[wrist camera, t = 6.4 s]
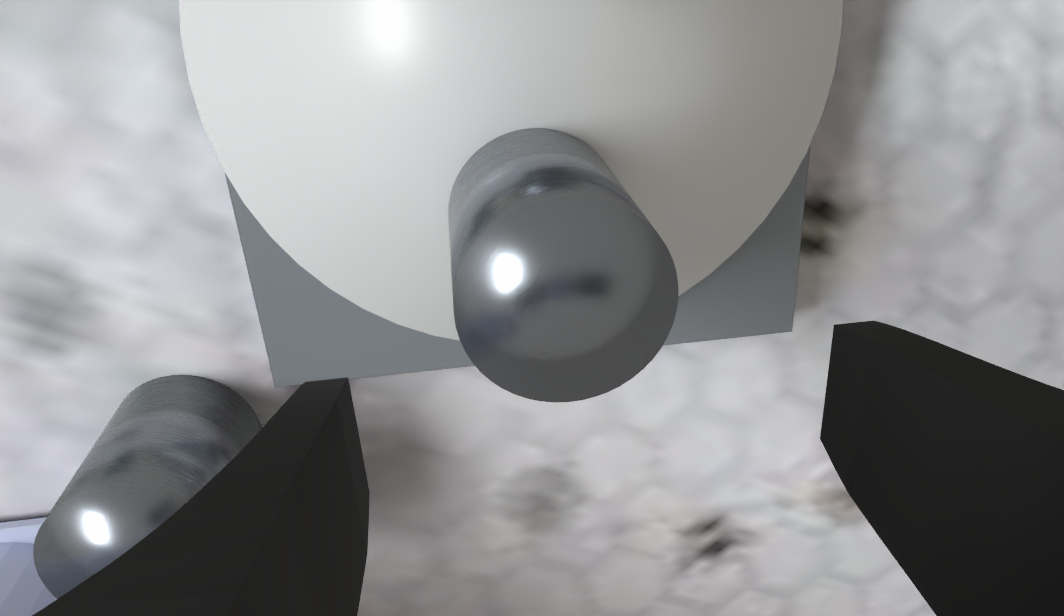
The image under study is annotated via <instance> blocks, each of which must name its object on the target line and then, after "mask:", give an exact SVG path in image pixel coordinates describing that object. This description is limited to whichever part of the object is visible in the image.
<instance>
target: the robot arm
mask: <svg viewBox="0 0 1064 616" xmlns="http://www.w3.org/2000/svg"><path fill="white" fill-rule="evenodd" d="M820 439H821V441H822V443H823V445H824V447H825V449H826V451H827V453H828V455H829V457H830V459H831V461H832V463H833V465H834V467H835V469H836V471H837V473H838V475H839V477H840V479H841V480H842V482H843V484H844V486H845V488H846V490H847V491H848V493H849V495H850V496H851V498H852V499H853V500H854V502H855V503H856V505H857V506H858V508H859V509H860V511H861V512H862V513H863V515H864V516H865V518H866V519H867V520H868V522H869V523H870V525H871V526H872V527H873V529H874V530H875V532H876V533H877V534H878V536H879V537H880V539H881V540H882V541H883V543H884V544H885V545H886V547H887V548H888V549H889V551H890V552H891V554H892V555H893V556H894V558H895V559H896V560H897V562H898V563H899V565H900V566H901V567H902V569H903V570H904V571H905V573H906V574H907V576H908V577H909V578H910V580H911V581H912V582H913V584H914V585H915V586H916V588H917V589H918V591H919V592H920V593H921V595H922V596H923V597H924V599H925V600H926V602H927V603H928V604H929V606H930V607H931V608H932V610H933V611H934V613H935V614H936V615H937V616H1064V390H1061V389H1058V388H1055V387H1052V386H1049V385H1047V384H1044V383H1041V382H1038V381H1036V380H1033V379H1030V378H1028V377H1025V376H1022V375H1020V374H1017V373H1014V372H1012V371H1009V370H1006V369H1004V368H1001V367H999V366H996V365H994V364H991V363H988V362H986V361H983V360H981V359H978V358H976V357H973V356H971V355H968V354H966V353H963V352H961V351H958V350H955V349H953V348H950V347H948V346H945V345H943V344H940V343H938V342H935V341H933V340H930V339H927V338H925V337H922V336H919V335H917V334H914V333H911V332H909V331H906V330H903V329H900V328H897V327H894V326H891V325H888V324H884V323H880V322H877V321H866V322H857V323H848V324H838V325H834V330H833V338H832V346H831V355H830V363H829V371H828V379H827V387H826V395H825V404H824V412H823V420H822V428H821V436H820ZM46 518H47V517H44V518H36V519H27V520H19V521H10V522H2V523H0V616H357V613H358V607H359V601H360V595H361V589H362V583H363V577H364V570H365V564H366V558H367V546H368V522H369V488H368V482H367V477H366V471H365V466H364V461H363V455H362V450H361V445H360V439H359V434H358V428H357V423H356V418H355V412H354V407H353V402H352V396H351V391H350V385H349V380H348V377H346V378H337V379H327V380H318V381H309V382H304V383H303V384H302V385H301V386H300V387H299V388H298V389H297V390H296V392H295V393H294V394H293V395H292V396H291V397H290V398H289V399H288V400H287V401H286V403H285V404H284V405H283V406H282V407H281V408H280V409H279V410H278V411H277V413H276V414H275V415H274V416H273V417H272V418H271V419H270V420H269V421H268V422H267V424H266V425H265V426H264V427H263V428H262V429H261V430H260V431H259V432H258V433H257V434H256V435H255V436H254V437H253V438H252V439H251V441H250V442H249V443H248V444H247V445H246V446H245V447H244V448H243V449H242V450H241V451H240V452H239V453H238V454H237V455H236V456H235V457H234V458H233V459H232V460H231V461H230V462H229V463H228V464H227V465H226V466H225V467H224V468H223V469H222V470H221V471H220V472H219V473H218V474H216V475H215V476H214V477H213V478H212V479H211V480H210V481H209V482H208V483H207V484H206V485H205V486H204V487H203V488H202V489H201V490H200V491H199V492H197V493H196V494H195V495H194V496H193V497H192V498H191V499H190V500H189V501H188V502H187V503H186V504H185V505H183V506H182V507H181V508H180V509H179V510H178V511H177V512H175V513H174V514H173V515H172V516H171V517H169V518H168V519H167V520H166V521H165V522H163V523H162V524H161V525H160V526H159V527H157V528H156V529H155V530H154V531H152V532H151V533H150V534H148V535H147V536H146V537H145V538H143V539H142V540H141V541H139V542H138V543H137V544H136V545H134V546H133V547H132V548H130V549H129V550H128V551H127V552H125V553H124V554H123V555H121V556H120V557H118V558H117V559H116V560H114V561H113V562H112V563H110V564H109V565H107V566H106V567H104V568H103V569H101V570H100V571H98V572H97V573H95V574H94V575H92V576H91V577H89V578H88V579H86V580H85V581H83V582H82V583H80V584H79V585H78V586H76V587H75V588H73V589H72V590H70V591H69V592H67V593H66V594H64V595H63V596H61V597H60V598H58V599H57V598H55V597H54V596H53V594H52V593H51V592H50V591H49V590H48V589H47V588H46V586H45V585H44V584H43V582H42V581H41V579H40V577H39V575H38V573H37V570H36V567H35V564H34V558H33V546H34V541H35V537H36V535H37V533H38V530H39V528H40V527H41V525H42V524H43V522H44V521H45V519H46Z"/></svg>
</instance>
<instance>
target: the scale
mask: <svg viewBox="0 0 1064 616" xmlns="http://www.w3.org/2000/svg"><path fill="white" fill-rule="evenodd" d="M179 10H180V32H181V39H182V45H183V51H184V56H185V62H186V68H187V73H188V79H189V83H190V86H191V90H192V93H193V96H194V99H195V102H196V106H197V109H198V112H199V115H200V119H201V122H202V125H203V127H204V129H205V132H206V134H207V136H208V138H209V141H210V143H211V145H212V147H213V149H214V152H215V154H216V156H217V158H218V160H219V163H220V165H221V167H222V168H223V170H224V172H225V176H226V180H227V184H228V188H229V193H230V197H231V201H232V205H233V210H234V214H235V218H236V222H237V227H238V231H239V235H240V240H241V244H242V248H243V252H244V257H245V261H246V265H247V269H248V274H249V278H250V282H251V286H252V291H253V295H254V299H255V304H256V308H257V312H258V316H259V321H260V325H261V329H262V333H263V338H264V342H265V346H266V350H267V355H268V359H269V363H270V368H271V372H272V376H273V380H274V385H275V387H281V386H291V385H300V384H303V383H304V382H309V381H318V380H327V379H337V378H346V377H348V379H356V378H365V377H374V376H383V375H393V374H402V373H411V372H420V371H430V370H439V369H448V368H458V367H467V366H475V365H474V364H473V363H472V361H471V360H470V358H469V357H468V355H467V354H466V352H465V350H464V348H463V346H462V344H461V342H460V339H459V336H458V333H457V330H456V326H455V319H454V311H453V293H452V276H451V258H450V241H449V223H448V206H449V199H450V194H451V191H452V187H453V185H454V182H455V180H456V178H457V176H458V174H459V172H460V171H461V169H462V167H463V166H464V164H465V163H466V162H467V161H468V160H469V158H470V157H471V156H472V155H473V154H474V153H475V152H476V151H477V150H478V149H480V148H481V147H482V146H484V145H485V144H486V143H488V142H489V141H491V140H493V139H495V138H497V137H499V136H501V135H504V134H506V133H509V132H512V131H516V130H520V129H529V128H546V129H553V130H558V131H561V132H564V133H568V134H570V135H572V136H574V137H576V138H578V139H580V140H581V141H583V142H585V143H586V144H588V145H589V146H590V147H591V148H592V149H593V150H595V151H596V152H597V153H598V155H599V156H600V157H601V158H602V159H603V160H604V162H605V163H606V164H607V166H608V167H609V168H610V170H611V171H612V172H613V174H614V175H615V176H616V178H617V179H618V180H619V182H620V183H621V184H622V186H623V187H624V188H625V190H626V191H627V193H628V194H629V195H630V197H631V198H632V199H633V201H634V202H635V203H636V205H637V206H638V207H639V209H640V210H641V211H642V213H643V214H644V215H645V217H646V218H647V219H648V221H649V222H650V223H651V225H652V226H653V227H654V229H655V230H656V231H657V233H658V234H659V235H660V237H661V238H662V240H663V241H664V243H665V244H666V246H667V248H668V250H669V252H670V254H671V256H672V258H673V262H674V265H675V268H676V272H677V278H678V305H677V312H676V315H675V319H674V322H673V325H672V328H671V330H670V332H669V335H668V337H667V339H666V340H665V342H664V344H663V345H671V344H680V343H689V342H699V341H708V340H717V339H726V338H736V337H745V336H754V335H764V334H773V333H782V332H791V331H792V327H793V317H794V306H795V296H796V286H797V275H798V265H799V255H800V244H801V234H802V224H803V213H804V203H805V193H806V182H807V172H808V162H809V151H810V144H811V141H812V139H813V136H814V134H815V132H816V129H817V127H818V124H819V122H820V120H821V117H822V115H823V112H824V108H825V105H826V101H827V98H828V94H829V91H830V87H831V84H832V81H833V77H834V74H835V68H836V62H837V56H838V50H839V44H840V38H841V32H842V16H843V0H179Z"/></svg>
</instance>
